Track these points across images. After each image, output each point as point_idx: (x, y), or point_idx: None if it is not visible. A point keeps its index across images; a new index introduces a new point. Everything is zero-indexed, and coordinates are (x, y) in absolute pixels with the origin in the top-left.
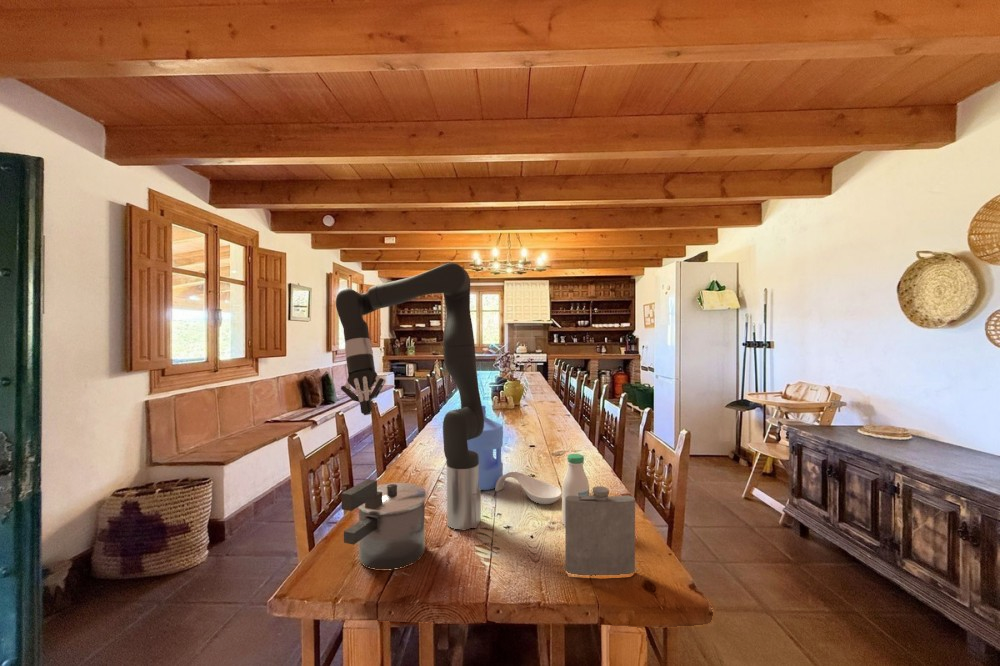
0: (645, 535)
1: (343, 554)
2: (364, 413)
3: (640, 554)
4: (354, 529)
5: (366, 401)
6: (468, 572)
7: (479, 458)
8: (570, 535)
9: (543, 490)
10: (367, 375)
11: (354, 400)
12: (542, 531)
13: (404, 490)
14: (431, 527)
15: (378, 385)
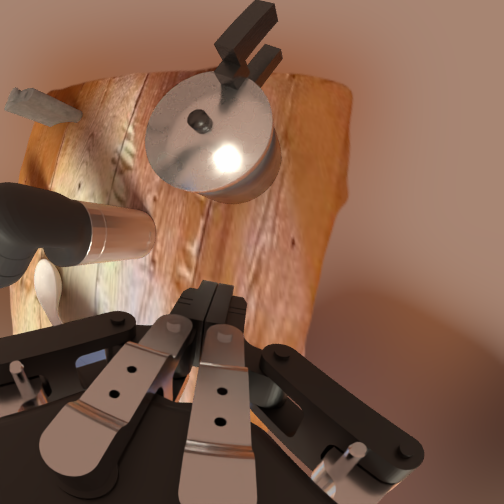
0: (20, 182)
1: (306, 165)
2: (226, 285)
3: (34, 150)
4: (265, 52)
5: (186, 315)
6: (151, 112)
7: (78, 359)
8: (56, 99)
9: (48, 297)
10: (41, 481)
11: (283, 347)
12: (69, 197)
13: (179, 143)
14: (177, 229)
15: (29, 343)
